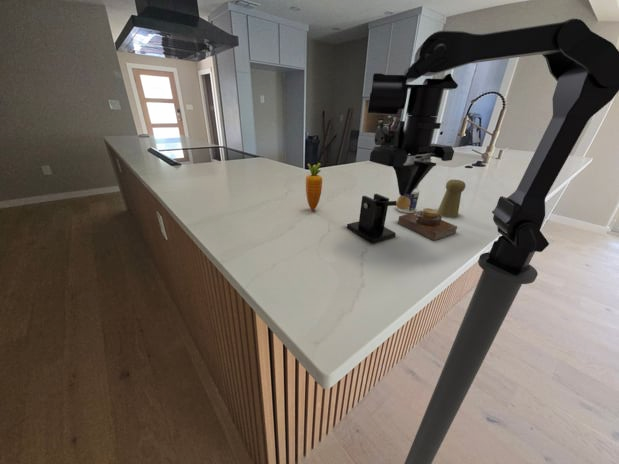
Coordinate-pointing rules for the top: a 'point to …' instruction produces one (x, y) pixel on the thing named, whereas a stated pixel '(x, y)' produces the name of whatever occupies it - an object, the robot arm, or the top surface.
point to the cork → (451, 199)
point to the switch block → (427, 225)
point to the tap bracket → (372, 220)
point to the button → (429, 213)
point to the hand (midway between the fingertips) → (404, 194)
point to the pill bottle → (411, 201)
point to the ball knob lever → (395, 203)
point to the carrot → (313, 186)
